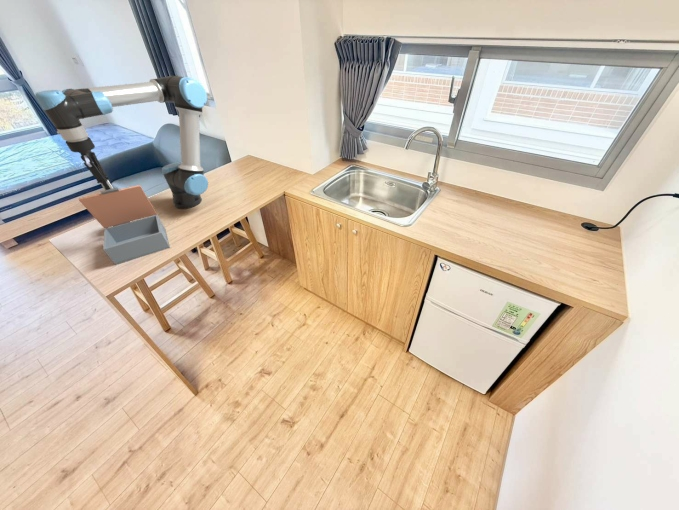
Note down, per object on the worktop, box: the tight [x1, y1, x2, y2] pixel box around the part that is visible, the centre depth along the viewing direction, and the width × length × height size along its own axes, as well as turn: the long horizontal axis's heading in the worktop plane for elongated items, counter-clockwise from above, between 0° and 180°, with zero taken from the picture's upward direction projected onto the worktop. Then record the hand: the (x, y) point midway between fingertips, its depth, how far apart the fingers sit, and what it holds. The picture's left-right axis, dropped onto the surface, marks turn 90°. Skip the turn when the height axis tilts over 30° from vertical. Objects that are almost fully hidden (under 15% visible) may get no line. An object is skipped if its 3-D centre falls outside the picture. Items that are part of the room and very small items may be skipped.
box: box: [103, 214, 171, 266], centre depth 124 cm, size 18×22×9 cm
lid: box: [78, 184, 158, 229], centre depth 119 cm, size 19×22×1 cm
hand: (112, 194), depth 115 cm, fingers closed
